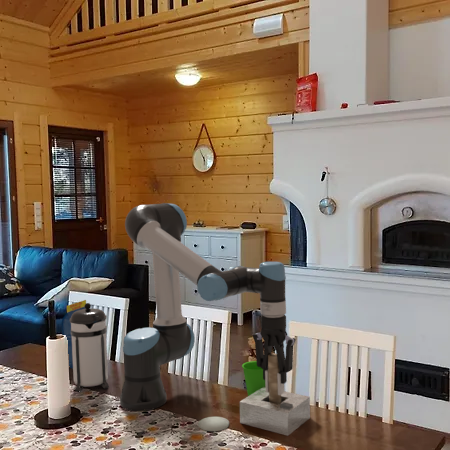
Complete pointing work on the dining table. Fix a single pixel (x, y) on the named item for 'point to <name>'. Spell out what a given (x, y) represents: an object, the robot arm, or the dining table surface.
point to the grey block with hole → (275, 411)
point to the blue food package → (67, 326)
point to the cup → (253, 377)
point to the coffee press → (89, 347)
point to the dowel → (273, 379)
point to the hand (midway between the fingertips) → (275, 392)
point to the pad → (213, 424)
